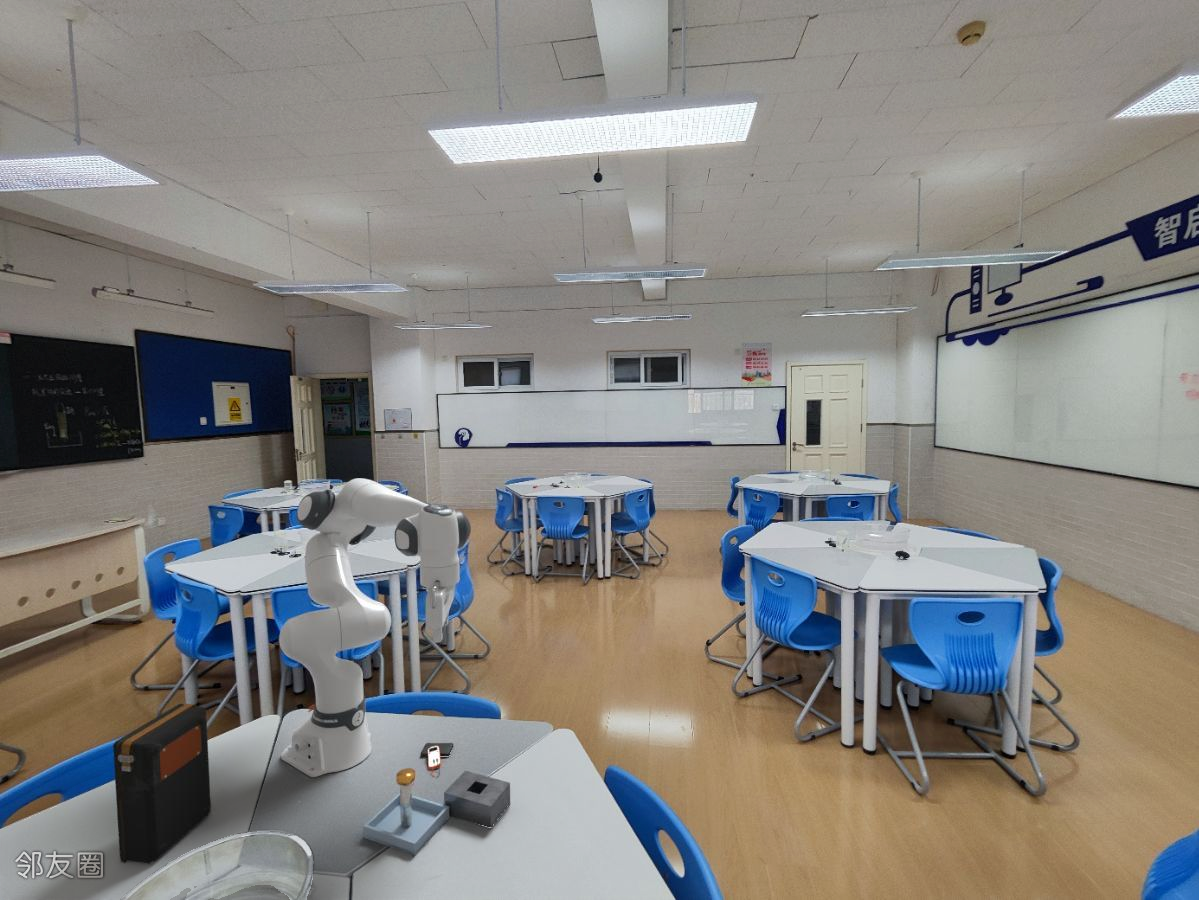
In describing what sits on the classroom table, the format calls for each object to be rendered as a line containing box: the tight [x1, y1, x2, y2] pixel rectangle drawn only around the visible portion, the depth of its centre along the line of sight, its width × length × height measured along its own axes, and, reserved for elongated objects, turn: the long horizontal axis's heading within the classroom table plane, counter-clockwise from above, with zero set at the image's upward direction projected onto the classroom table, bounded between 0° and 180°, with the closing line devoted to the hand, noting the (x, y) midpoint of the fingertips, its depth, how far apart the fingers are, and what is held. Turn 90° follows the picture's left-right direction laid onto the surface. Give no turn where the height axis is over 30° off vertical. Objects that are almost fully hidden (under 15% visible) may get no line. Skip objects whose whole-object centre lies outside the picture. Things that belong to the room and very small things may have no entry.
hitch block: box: [443, 770, 511, 828], centre depth 122 cm, size 12×8×5 cm, turn 69°
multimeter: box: [412, 742, 454, 787], centre depth 137 cm, size 18×12×3 cm, turn 175°
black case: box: [112, 703, 212, 864], centre depth 114 cm, size 16×9×25 cm, turn 173°
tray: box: [362, 792, 450, 856], centre depth 117 cm, size 13×11×2 cm
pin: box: [396, 767, 416, 828], centre depth 117 cm, size 4×4×11 cm
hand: (441, 633), depth 128 cm, fingers open, 8 cm apart
